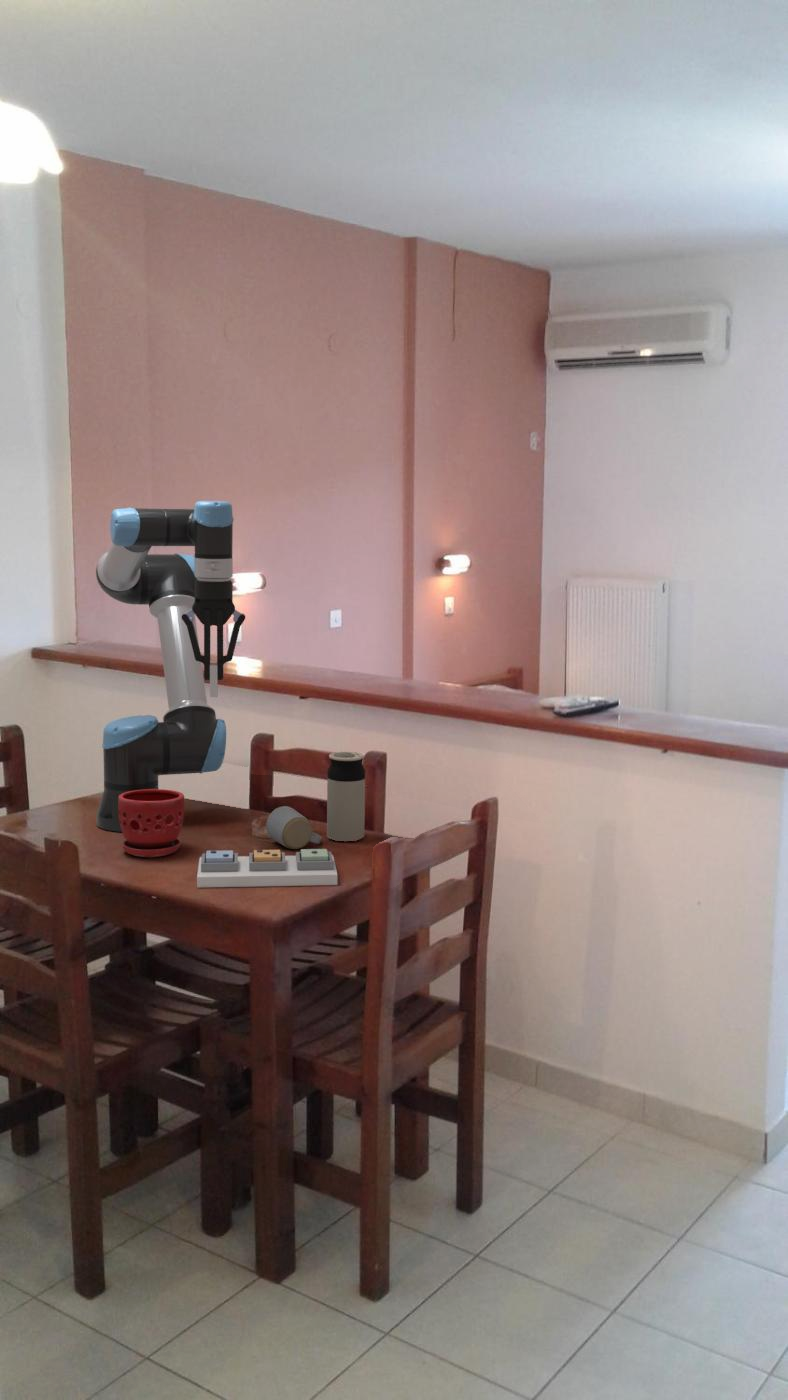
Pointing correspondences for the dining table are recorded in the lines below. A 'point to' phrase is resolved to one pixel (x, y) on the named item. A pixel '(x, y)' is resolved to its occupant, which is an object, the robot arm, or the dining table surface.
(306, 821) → the ceramic mug
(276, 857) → the three dot tile
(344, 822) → the travel mug
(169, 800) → the plant pot
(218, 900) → the dining table surface
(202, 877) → the tile board
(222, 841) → the dining table surface
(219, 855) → the two dot tile
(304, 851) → the one dot tile
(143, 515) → the robot arm
